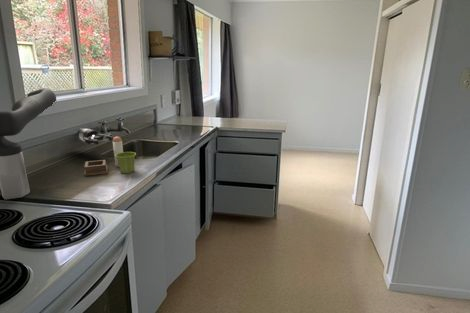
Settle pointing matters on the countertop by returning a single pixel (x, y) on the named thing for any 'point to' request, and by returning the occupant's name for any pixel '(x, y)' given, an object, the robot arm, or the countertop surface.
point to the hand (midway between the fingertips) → (105, 140)
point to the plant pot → (126, 161)
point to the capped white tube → (117, 148)
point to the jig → (95, 167)
